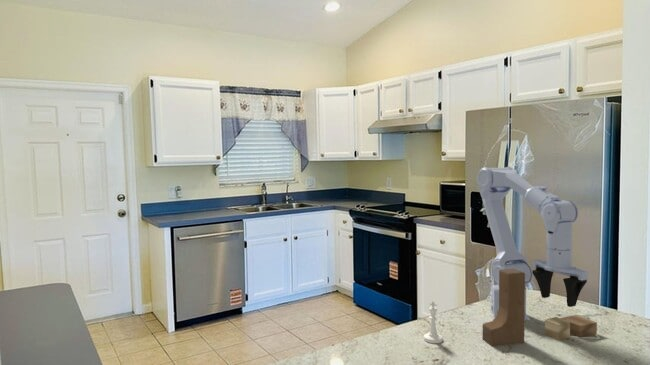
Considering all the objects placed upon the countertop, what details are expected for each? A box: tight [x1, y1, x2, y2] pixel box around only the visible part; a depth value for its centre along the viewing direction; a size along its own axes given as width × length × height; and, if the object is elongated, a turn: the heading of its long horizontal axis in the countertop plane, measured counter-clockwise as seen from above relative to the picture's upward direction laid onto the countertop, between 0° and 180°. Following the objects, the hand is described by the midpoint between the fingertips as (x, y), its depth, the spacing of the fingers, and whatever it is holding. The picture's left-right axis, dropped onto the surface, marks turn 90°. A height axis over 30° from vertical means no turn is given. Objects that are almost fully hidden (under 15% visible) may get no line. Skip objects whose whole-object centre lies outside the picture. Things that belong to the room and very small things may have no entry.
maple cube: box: [544, 316, 571, 341], centre depth 114 cm, size 4×4×4 cm
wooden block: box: [481, 269, 526, 347], centre depth 111 cm, size 9×4×18 cm, turn 101°
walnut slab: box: [560, 314, 598, 339], centre depth 116 cm, size 6×6×3 cm
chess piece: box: [422, 300, 444, 344], centre depth 114 cm, size 5×5×10 cm
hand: (558, 301), depth 113 cm, fingers open, 7 cm apart
